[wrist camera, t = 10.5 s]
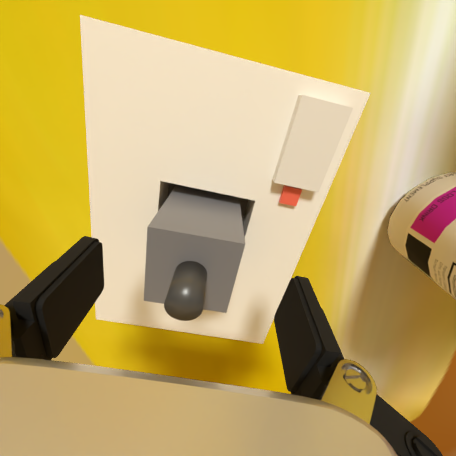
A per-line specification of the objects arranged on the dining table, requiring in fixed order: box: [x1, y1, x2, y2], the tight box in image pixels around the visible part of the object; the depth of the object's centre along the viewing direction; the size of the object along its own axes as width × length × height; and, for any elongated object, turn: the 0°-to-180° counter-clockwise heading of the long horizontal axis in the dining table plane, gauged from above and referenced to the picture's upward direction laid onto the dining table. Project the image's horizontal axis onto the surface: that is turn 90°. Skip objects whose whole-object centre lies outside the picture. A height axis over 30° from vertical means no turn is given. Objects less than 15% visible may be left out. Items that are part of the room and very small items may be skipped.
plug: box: [144, 184, 245, 321], centre depth 15 cm, size 5×5×10 cm
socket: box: [80, 15, 370, 344], centre depth 19 cm, size 16×22×5 cm
